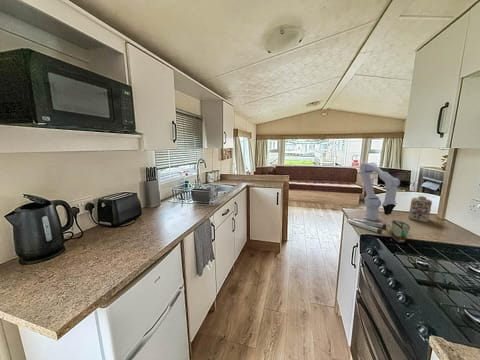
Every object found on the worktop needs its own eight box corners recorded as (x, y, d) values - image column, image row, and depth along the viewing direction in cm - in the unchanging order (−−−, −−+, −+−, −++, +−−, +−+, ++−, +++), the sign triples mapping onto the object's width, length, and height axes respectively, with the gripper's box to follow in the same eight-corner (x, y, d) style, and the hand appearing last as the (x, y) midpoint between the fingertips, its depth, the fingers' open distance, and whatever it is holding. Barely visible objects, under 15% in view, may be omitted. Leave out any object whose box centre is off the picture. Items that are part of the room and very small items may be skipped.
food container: (412, 245, 116) (415, 228, 115) (400, 243, 117) (403, 227, 116) (400, 235, 128) (403, 220, 126) (389, 234, 129) (392, 219, 128)
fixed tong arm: (348, 222, 149) (348, 218, 149) (381, 233, 131) (382, 229, 130) (347, 222, 148) (347, 219, 148) (380, 234, 130) (381, 230, 130)
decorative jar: (428, 219, 161) (432, 197, 158) (428, 223, 152) (432, 199, 149) (409, 215, 169) (412, 194, 166) (407, 218, 160) (411, 196, 157)
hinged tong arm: (349, 222, 149) (349, 218, 148) (349, 221, 150) (349, 217, 150) (385, 228, 139) (386, 224, 138) (385, 227, 140) (386, 223, 140)
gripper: (392, 198, 133) (389, 217, 136) (401, 195, 141) (398, 214, 143) (380, 195, 139) (377, 214, 142) (390, 193, 147) (387, 211, 149)
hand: (387, 214), depth 143 cm, fingers open, 3 cm apart
